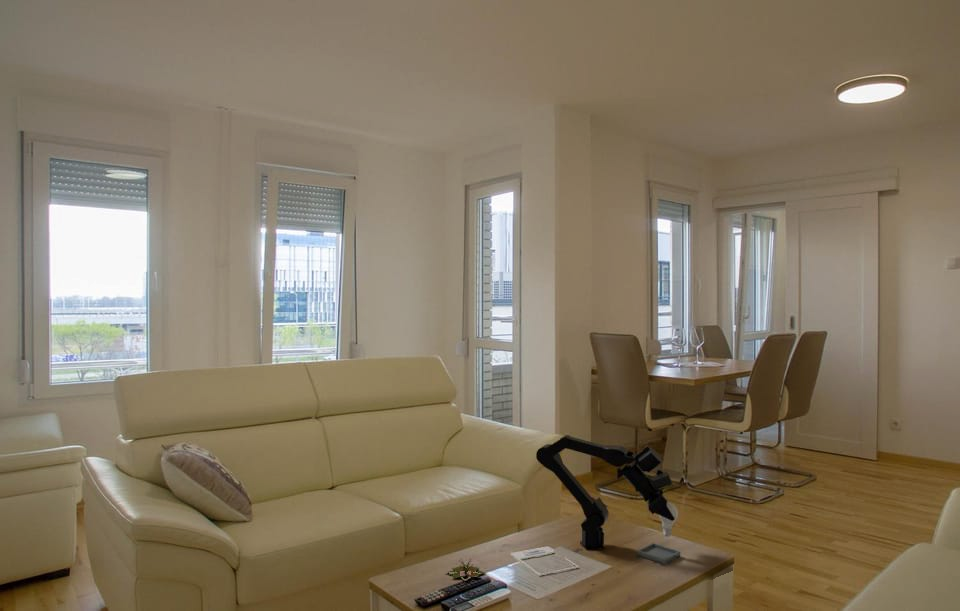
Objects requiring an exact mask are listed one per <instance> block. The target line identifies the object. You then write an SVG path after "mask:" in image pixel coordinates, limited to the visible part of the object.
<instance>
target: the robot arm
mask: <svg viewBox="0 0 960 611" xmlns="http://www.w3.org/2000/svg"><path fill="white" fill-rule="evenodd" d="M565 449H567V450H571V451H574V452H577V453H580V454H581V453H582V454H585V455H587V456H591V457H595V458H598V459H601V460H602V461H604V462H605V463H607V464H609V465H611V466H613V467H615V468H617V469H616V473H617V474H616V475H617V476H616V479H620V478H622V477H624V478H625V479H626V480H627V481H628V483H629V484H630V485H631V486H632V487H633V488H634V490H635V492H637V493H638V494H639V495H640V496H641V497H642V498H643V501H645V502H647V504H646V505H647V509H648V511H649V512H650V513H651V515H654V514H655V515H656V514H657V515H658V516H659V515H660V516H663V517H665V518H667V519H669V520H671V521H673V520H675V518H674V517H673V515H672V513H671V512H670V510H669V509H668V507H667V502H668V499H667V497H665V495H664V494H663V492H664V491H663V488H665V487H670V486H672V485H673V481H672V480H671V479H672V478H671V477H670V474H669V473H668V471H663V470H662V469H661V468H660V469H659V468H658V469H656V470H655V471H656V472H655V475H654V476H652V477H651V476H650V475H649V474H647V473H650V472H652V471H653V470H654V469H655V468H657V467H658V466H659V465H661V464H662V463H663V459H662V457H661V455H660V454H659V453H658V452H657V451H656V450H655V449H654V448H652V447H651V446H650V445H646V446H645V447H644V448H643V449H642V450H641V451H640V452H638V453H637V452H635V451H630V450H628V449H627V448H626V447H625V446H622V445H612V444H608V445H607V444H606V445H605V444H599V443H597V442H592V441H589V440H585V439H582V438H578V437H574V436H571V435H569V434H565V435H562V436H561V437H560V438H559V440H557V441H555V442H553V443H552V444H550V443H546V444H545V445H543V446H541V447H540V448H538V450H537V451H536V452H535V454H536V455H535V457H536V460H537V461H538V463H539V464H541V465H542V466H543V467H544V468H545V469H547V470H549V471H550V472H552V473H553V474H554V475H555V477H557V478H558V479H559V481H560V482H561V483H562V485H563V486H564V487H565V488H566V490H567V491H568V492H569V493H570V494H571V495H572V497H573V499H575V500H576V501H577V502H578V505H579V506H580V507H581V510H582V512H583V514H584V517H585V519H584V520H583V521H582V522H581V523H580V526H581V541H579V544H580V545H581V546H582V547H583V548H584V549H585V550H587V551H591V550H594V551H595V550H604V549H605V546H604V545H605V533H604V532H603V531H604V529H603V527H602V526H604V524H605V523H606V521H607V520H608V518H609V514H610V512H609V509H608V508H607V507H608V505H607V504H605V503H604V502H603V500H602V499H601V497H598V498H597V499H596V498H594V497H593V496H591V494H590V493H589V492H588V491H587V490H586V489H585V488H584V486H583V485H582V484H581V483H580V481H579V480H578V479H577V478H576V477H575V475H573V473H572V472H571V471H570V470H569V469H568V468H567V467H566V465H565V463H564V462H563V459H562V456H561V454H560V452H562V451H564V450H565ZM646 472H647V473H646ZM675 521H676V520H675Z"/></svg>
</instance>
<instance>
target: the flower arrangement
mask: <svg viewBox="0 0 960 611" xmlns="http://www.w3.org/2000/svg"><path fill="white" fill-rule="evenodd" d="M458 562H460V564H461V565H460V564H459V566H456V567H452V570H450V571H447V572H448V573H449V572H454V571H456V572H457V573H454V574H453V575H452V574H449V575H451V576H452V578H454V577H456V578H455V579H457V578H460V577H464V576H460V571H465V572H464V573H463V574H465V573H466V574H465V575H469V574H468V573H467V572H468V571H471V575H469V576H470V577H472V578H474V576H479V577H480V575H484V574H486V572H485V571H482V570H478V569H479V567H477V566H474V564H471V562H472V558H469V560H468V562H467V564H465V563H464V561H463V559H462V558H460V560H458ZM465 566H466V567H467V568H466V567H465ZM475 571H476V572H478V573H482V574H478V573H473V572H475ZM469 576H468V577H469ZM460 580H462V581H463V579H462V578H460Z"/></svg>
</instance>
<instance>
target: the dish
mask: <svg viewBox="0 0 960 611" xmlns="http://www.w3.org/2000/svg"><path fill="white" fill-rule="evenodd" d="M636 557H637V558H638V557H639V558H641V559H643V558H644V560H646V559H647V561H649V560H650V562H652V561H653V563H655V562H656V563H655V564H658V563H659V565H661V564H662V566H664V567H665V566H667V565H669V564H671V563H672V562H674V561H676V560H677V559H679V558H681V551H680V550H678V549H677V550H676V549H674V548H670V547H667V546H664V545H661V544H657V543H655V542H651V543H650V544H648V545H645V546H643V547H641V548H639V549H637V550H636ZM666 564H667V565H666Z"/></svg>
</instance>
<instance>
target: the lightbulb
mask: <svg viewBox="0 0 960 611" xmlns="http://www.w3.org/2000/svg"><path fill="white" fill-rule="evenodd" d="M667 507H668V509H669V510H670V512H671V513H672V515H673V517H674V518H675V520H673V521H671V520H669V519H667V518H665V517H663V516H660V515H658V517H659V519H660V521H661V525H662V535H663V536H664V537H666V538H667V537H670V536H672V529H673V526H674V523H675V521H676V520H677V519H678V517H679V510H678V508H677V506H676V505H675V504H674V503H671V502H670V501H667Z"/></svg>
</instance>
